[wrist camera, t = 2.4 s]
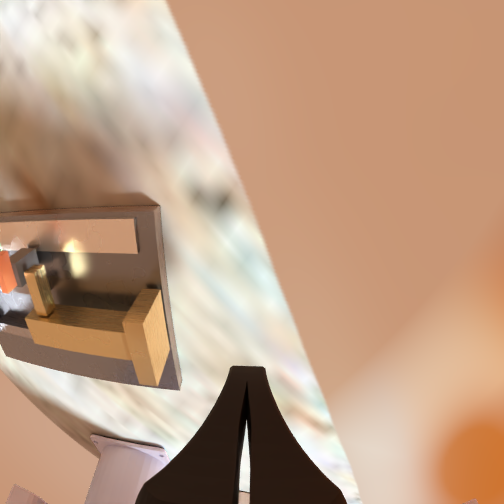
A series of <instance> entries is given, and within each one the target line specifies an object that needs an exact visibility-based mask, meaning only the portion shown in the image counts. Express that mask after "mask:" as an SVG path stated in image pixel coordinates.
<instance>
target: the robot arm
mask: <svg viewBox="0 0 504 504" xmlns="http://www.w3.org/2000/svg"><path fill="white" fill-rule="evenodd" d="M246 421H247V428H248V442H249V455H250V502H249V504H347V502H346V500H345V498H344V496H343V494H342V492H341V490H340V489H339V488H338V487H337V486H336V485H335V484H334V483H333V482H331V481H330V480H329V479H328V478H327V477H326V476H325V475H324V474H323V473H322V472H321V470H320V469H319V468H318V467H317V466H316V465H315V464H314V463H313V461H312V460H311V459H310V458H309V457H308V455H307V454H306V453H305V452H304V450H303V449H302V448H301V446H300V445H299V443H298V442H297V441H296V439H295V437H294V436H293V434H292V433H291V431H290V429H289V428H288V426H287V424H286V422H285V421H284V419H283V417H282V415H281V413H280V411H279V409H278V406H277V404H276V402H275V400H274V397H273V395H272V392H271V389H270V386H269V383H268V380H267V375H266V370H265V368H264V367H258V366H232V367H230V371H229V374H228V377H227V380H226V382H225V385H224V387H223V389H222V391H221V393H220V395H219V397H218V399H217V401H216V403H215V405H214V407H213V408H212V410H211V412H210V413H209V415H208V417H207V418H206V420H205V421H204V423H203V424H202V426H201V427H200V428H199V430H198V431H197V432H196V434H195V435H194V436H193V438H192V439H191V440H190V441H189V442H188V444H187V445H186V446H185V447H184V448H183V449H182V450H181V451H180V453H179V454H178V455H177V456H175V457H174V458H173V459H172V460H171V461H170V459H169V457H168V455H167V452H166V450H164V449H162V448H158V447H151V446H145V445H140V444H134V443H129V442H124V441H120V440H115V439H111V438H106V437H102V436H98V435H94V434H92V435H91V436H90V439H91V440H92V442H93V443H94V445H95V446H96V448H97V449H98V451H99V452H100V454H101V456H100V459H99V462H98V465H97V468H96V471H95V473H94V477H93V479H92V482H91V485H90V488H89V491H88V494H87V497H86V500H85V504H239V478H240V463H241V456H242V449H243V442H244V435H245V428H246ZM6 504H47V503H45V501H44V500H42V499H41V498H40V497H39V496H37V495H35V494H34V493H32V492H30V491H28V490H26V489H24V488H22V487H20V486H18V485H16V484H14V485H13V488H12V490H11V492H10V495H9V497H8V499H7V502H6ZM463 504H478V502H477V500H476V499H472V500H470V501H468V502H466V503H463Z"/></svg>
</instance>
